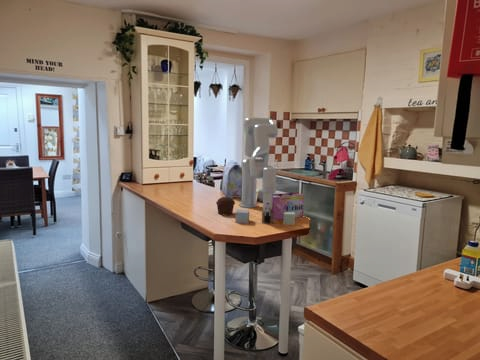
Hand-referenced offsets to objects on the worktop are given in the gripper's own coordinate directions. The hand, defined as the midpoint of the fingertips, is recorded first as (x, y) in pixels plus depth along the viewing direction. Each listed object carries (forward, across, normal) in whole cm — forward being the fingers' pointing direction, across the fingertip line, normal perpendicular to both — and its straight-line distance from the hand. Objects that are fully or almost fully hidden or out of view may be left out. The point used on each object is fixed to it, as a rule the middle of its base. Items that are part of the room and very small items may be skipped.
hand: (267, 220), depth 203 cm
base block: (+1, +2, -14) cm, 14 cm away
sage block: (+1, 0, +12) cm, 12 cm away
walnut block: (+1, 0, 0) cm, 1 cm away
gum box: (+1, -14, +10) cm, 17 cm away
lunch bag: (+1, -71, -28) cm, 76 cm away
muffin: (+1, -14, -26) cm, 30 cm away
